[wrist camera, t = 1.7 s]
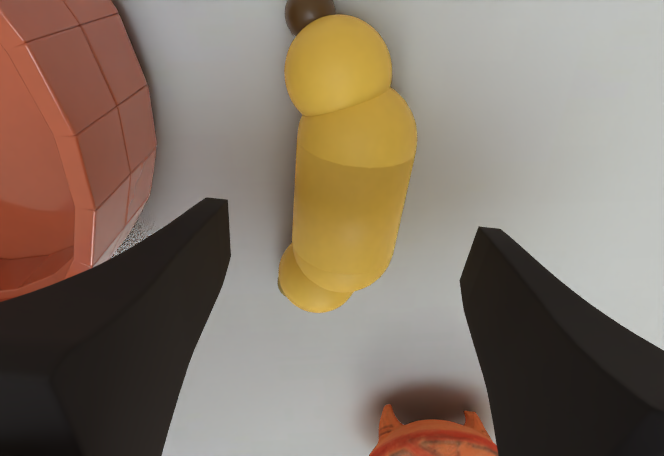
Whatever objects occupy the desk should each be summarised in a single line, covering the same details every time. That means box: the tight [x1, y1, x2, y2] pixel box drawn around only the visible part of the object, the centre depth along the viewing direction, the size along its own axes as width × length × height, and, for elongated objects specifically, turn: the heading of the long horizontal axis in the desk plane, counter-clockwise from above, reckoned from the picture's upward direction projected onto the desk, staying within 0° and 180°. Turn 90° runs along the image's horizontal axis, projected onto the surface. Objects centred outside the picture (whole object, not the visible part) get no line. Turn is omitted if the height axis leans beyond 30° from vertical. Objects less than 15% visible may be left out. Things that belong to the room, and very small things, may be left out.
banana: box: [278, 0, 417, 313], centre depth 15 cm, size 12×4×4 cm, turn 175°
